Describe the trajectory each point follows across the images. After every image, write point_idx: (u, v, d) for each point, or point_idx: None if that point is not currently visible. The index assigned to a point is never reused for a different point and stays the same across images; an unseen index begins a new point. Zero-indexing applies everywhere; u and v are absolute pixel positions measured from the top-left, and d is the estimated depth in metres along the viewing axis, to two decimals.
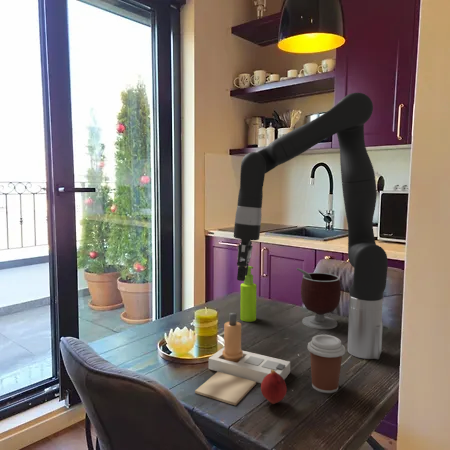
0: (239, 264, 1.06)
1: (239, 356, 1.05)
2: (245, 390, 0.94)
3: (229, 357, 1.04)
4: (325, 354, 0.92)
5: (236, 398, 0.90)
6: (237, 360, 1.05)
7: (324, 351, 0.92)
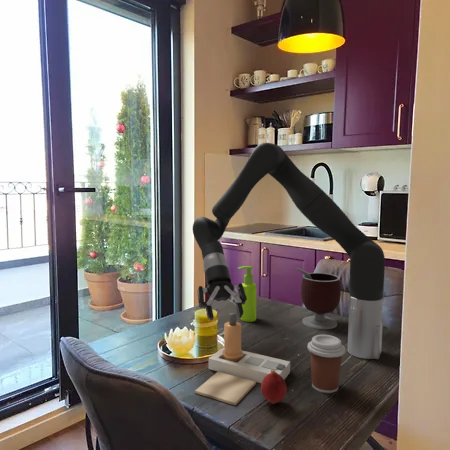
0: (199, 305, 1.14)
1: (239, 356, 1.05)
2: (245, 390, 0.94)
3: (229, 357, 1.04)
4: (325, 354, 0.92)
5: (236, 398, 0.90)
6: (237, 360, 1.05)
7: (324, 351, 0.92)
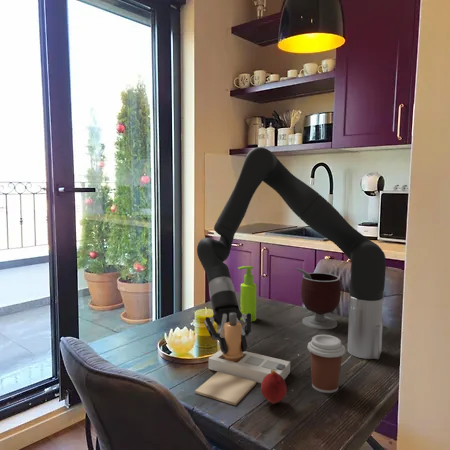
0: (212, 337, 1.07)
1: (239, 356, 1.05)
2: (245, 390, 0.94)
3: (229, 357, 1.04)
4: (325, 354, 0.92)
5: (236, 398, 0.90)
6: (237, 360, 1.05)
7: (324, 351, 0.92)
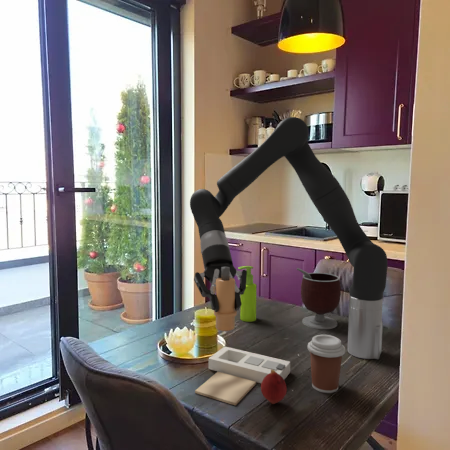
0: (202, 294, 0.95)
1: (232, 315, 0.93)
2: (245, 390, 0.94)
3: (221, 315, 0.92)
4: (325, 354, 0.92)
5: (236, 398, 0.90)
6: (230, 319, 0.93)
7: (324, 351, 0.92)
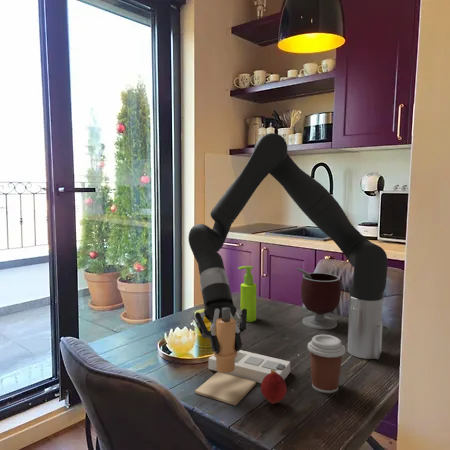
0: (202, 335, 0.95)
1: (233, 356, 0.93)
2: (245, 390, 0.94)
3: (221, 357, 0.92)
4: (325, 354, 0.92)
5: (236, 398, 0.90)
6: (230, 361, 0.93)
7: (324, 351, 0.92)
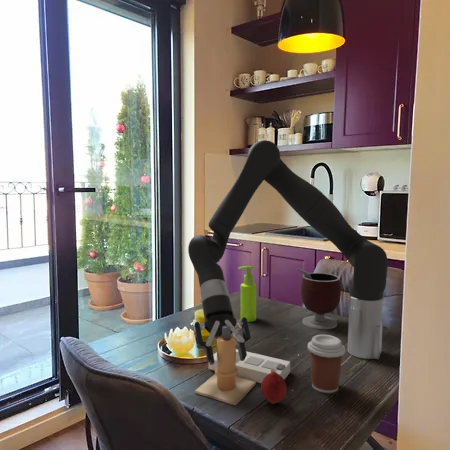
0: (197, 346, 0.95)
1: (233, 375, 0.93)
2: (245, 390, 0.94)
3: (222, 376, 0.93)
4: (325, 354, 0.92)
5: (236, 398, 0.90)
6: (231, 379, 0.94)
7: (324, 351, 0.92)
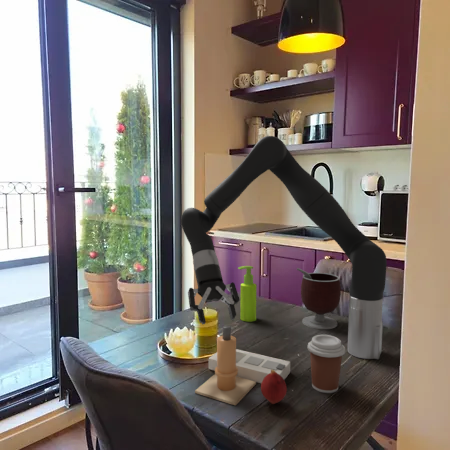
0: (190, 308, 1.09)
1: (233, 375, 0.93)
2: (245, 390, 0.94)
3: (222, 376, 0.93)
4: (325, 354, 0.92)
5: (236, 398, 0.90)
6: (231, 379, 0.93)
7: (324, 351, 0.92)
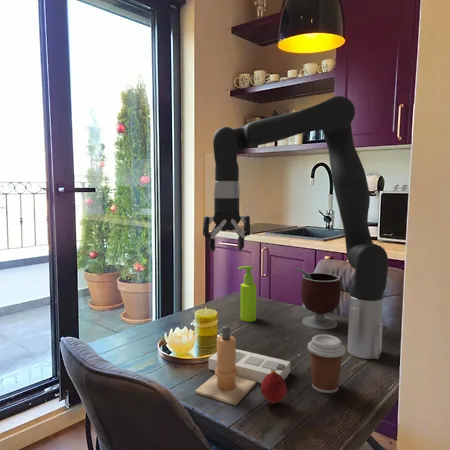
0: (203, 234, 1.16)
1: (233, 375, 0.93)
2: (245, 390, 0.94)
3: (222, 376, 0.93)
4: (325, 354, 0.92)
5: (236, 398, 0.90)
6: (231, 379, 0.93)
7: (324, 351, 0.92)
